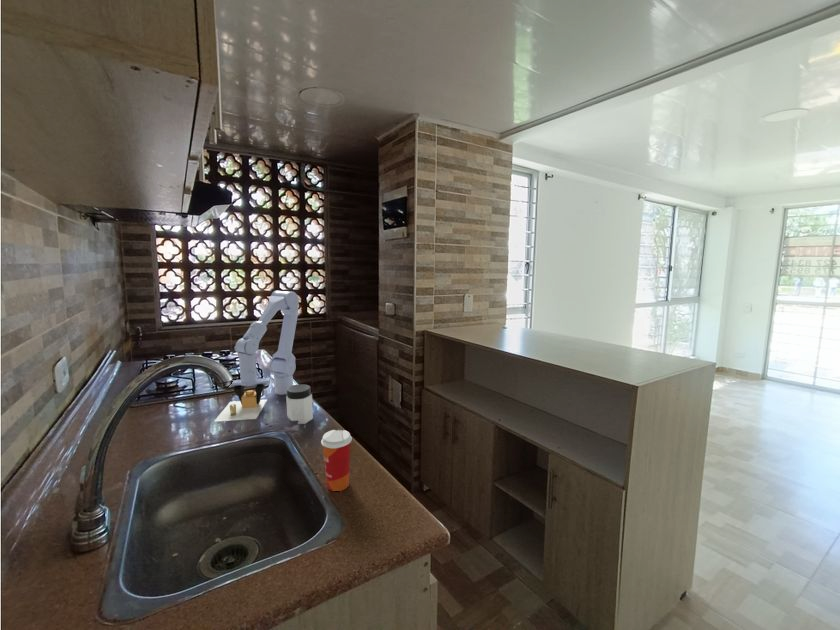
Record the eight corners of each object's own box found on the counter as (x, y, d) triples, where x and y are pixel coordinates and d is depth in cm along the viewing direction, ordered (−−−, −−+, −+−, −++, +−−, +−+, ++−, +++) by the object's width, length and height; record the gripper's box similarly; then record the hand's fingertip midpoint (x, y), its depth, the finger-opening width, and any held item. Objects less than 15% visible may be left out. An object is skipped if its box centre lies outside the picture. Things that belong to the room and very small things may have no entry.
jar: (285, 425, 131) (283, 392, 129) (289, 415, 139) (288, 384, 137) (311, 424, 133) (309, 391, 131) (314, 414, 141) (313, 383, 139)
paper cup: (327, 476, 102) (325, 428, 99) (355, 477, 102) (354, 428, 99) (319, 494, 94) (316, 443, 92) (349, 495, 94) (347, 443, 92)
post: (231, 413, 137) (230, 404, 137) (237, 413, 138) (236, 404, 137) (229, 415, 135) (228, 406, 135) (235, 415, 136) (234, 406, 135)
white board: (230, 405, 149) (230, 401, 148) (267, 402, 151) (267, 399, 151) (214, 425, 131) (213, 421, 131) (256, 422, 133) (256, 418, 133)
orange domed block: (245, 402, 147) (244, 389, 146) (259, 402, 148) (258, 388, 147) (242, 408, 142) (241, 394, 141) (256, 407, 143) (255, 393, 142)
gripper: (224, 373, 137) (227, 408, 140) (266, 371, 140) (268, 406, 142) (230, 368, 144) (233, 401, 147) (270, 366, 147) (272, 399, 149)
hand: (250, 403), depth 145 cm, fingers closed on orange domed block, 5 cm apart
